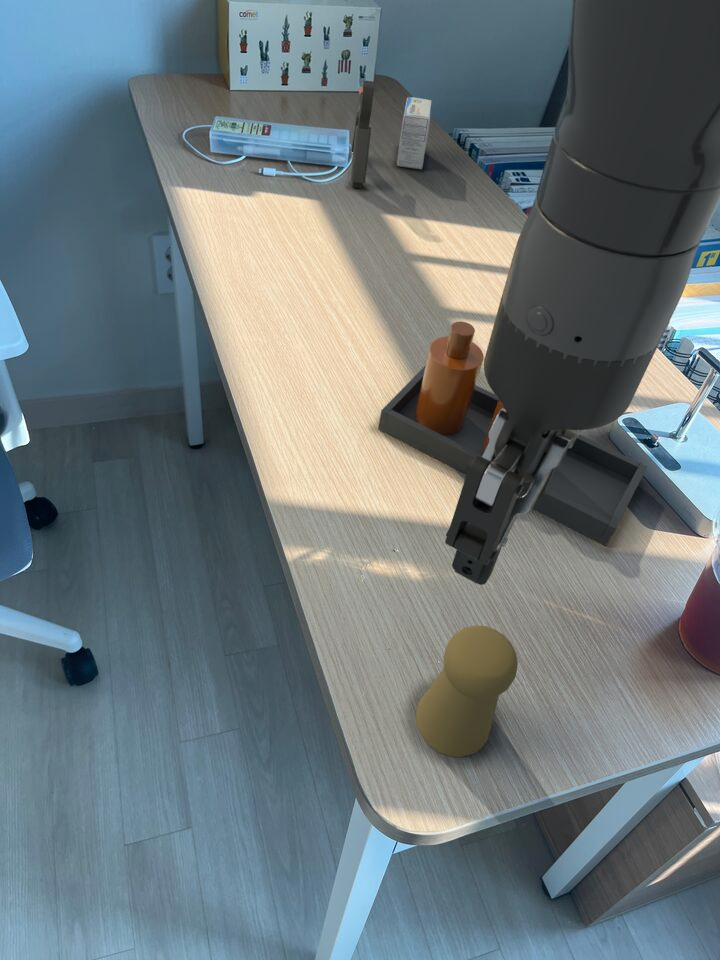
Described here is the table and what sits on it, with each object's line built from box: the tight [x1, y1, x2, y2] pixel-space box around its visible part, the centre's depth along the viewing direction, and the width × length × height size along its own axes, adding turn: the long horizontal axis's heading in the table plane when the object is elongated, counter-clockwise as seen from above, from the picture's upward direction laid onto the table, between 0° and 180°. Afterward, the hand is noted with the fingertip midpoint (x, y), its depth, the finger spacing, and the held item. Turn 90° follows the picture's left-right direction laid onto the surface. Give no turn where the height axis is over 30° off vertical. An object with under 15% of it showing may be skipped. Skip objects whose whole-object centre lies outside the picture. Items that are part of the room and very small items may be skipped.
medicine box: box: [396, 96, 433, 170], centre depth 127 cm, size 8×4×9 cm, turn 174°
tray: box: [377, 364, 648, 547], centre depth 81 cm, size 27×11×3 cm, turn 58°
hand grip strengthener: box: [350, 80, 375, 189], centre depth 119 cm, size 2×12×15 cm, turn 1°
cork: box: [415, 625, 519, 758], centre depth 56 cm, size 6×6×11 cm
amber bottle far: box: [415, 321, 485, 434], centre depth 79 cm, size 6×6×12 cm
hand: (500, 529), depth 47 cm, fingers open, 8 cm apart
